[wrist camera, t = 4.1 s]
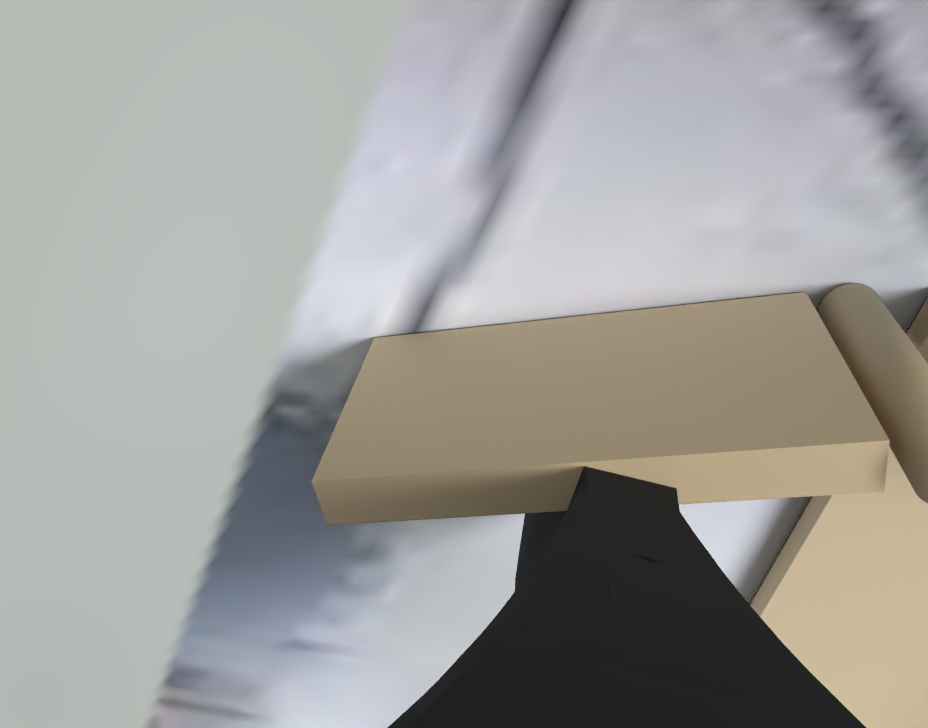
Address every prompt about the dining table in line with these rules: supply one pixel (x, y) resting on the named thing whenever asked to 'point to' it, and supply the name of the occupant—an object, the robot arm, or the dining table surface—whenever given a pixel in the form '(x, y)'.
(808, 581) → the open cardboard tray
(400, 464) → the flap
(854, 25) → the dining table surface
